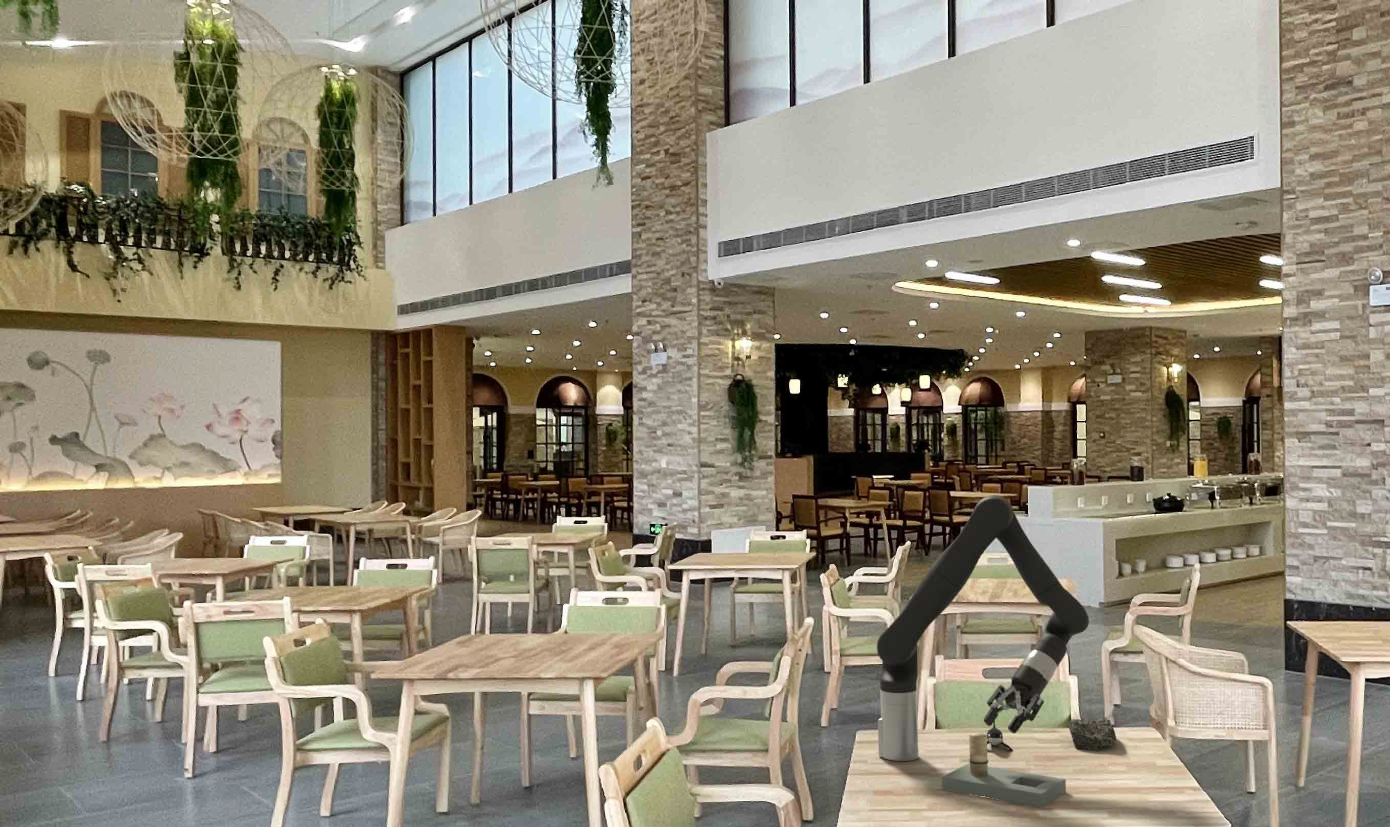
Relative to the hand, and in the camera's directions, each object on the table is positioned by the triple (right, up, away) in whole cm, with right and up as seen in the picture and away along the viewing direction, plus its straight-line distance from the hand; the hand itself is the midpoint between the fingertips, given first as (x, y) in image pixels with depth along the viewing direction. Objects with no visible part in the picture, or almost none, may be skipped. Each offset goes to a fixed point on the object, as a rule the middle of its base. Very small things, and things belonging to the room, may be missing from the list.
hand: (998, 727), depth 281 cm
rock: (+34, -14, +34) cm, 50 cm away
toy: (+8, -14, +35) cm, 39 cm away
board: (-1, -13, -7) cm, 15 cm away
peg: (-5, -10, -3) cm, 12 cm away
